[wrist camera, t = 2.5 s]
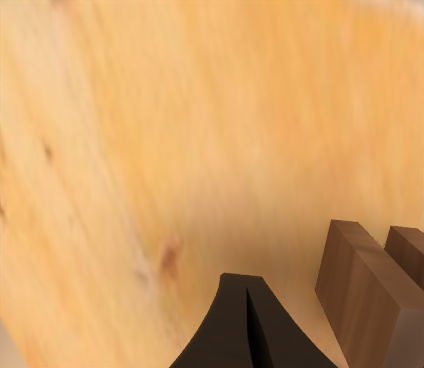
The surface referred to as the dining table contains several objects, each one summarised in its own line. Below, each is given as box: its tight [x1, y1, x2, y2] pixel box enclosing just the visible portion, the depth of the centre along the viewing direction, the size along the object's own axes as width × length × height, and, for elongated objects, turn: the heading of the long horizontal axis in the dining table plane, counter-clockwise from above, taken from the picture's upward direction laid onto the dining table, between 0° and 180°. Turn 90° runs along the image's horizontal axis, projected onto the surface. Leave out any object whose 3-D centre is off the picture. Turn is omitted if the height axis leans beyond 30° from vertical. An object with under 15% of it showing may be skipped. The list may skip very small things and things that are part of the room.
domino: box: [315, 220, 424, 368], centre depth 17 cm, size 2×5×8 cm, turn 174°
